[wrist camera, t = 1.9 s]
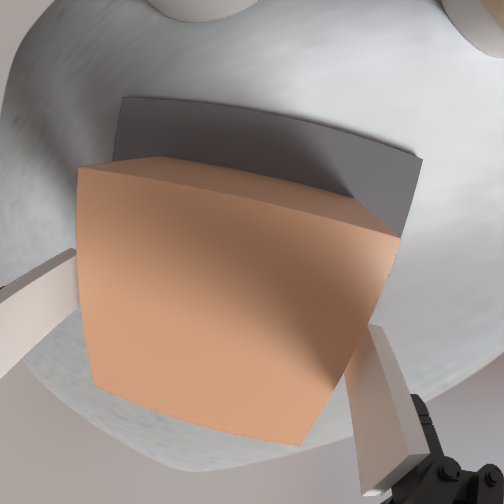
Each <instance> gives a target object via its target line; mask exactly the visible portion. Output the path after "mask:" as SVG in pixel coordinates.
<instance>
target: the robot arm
mask: <svg viewBox="0 0 504 504" xmlns="http://www.w3.org/2000/svg"><path fill="white" fill-rule="evenodd" d="M79 306H80V296H79V285H78V272H77V252H76V249H73V248H70V249H68V250H66V251H64V252H62V253H60V254H59V255H57V256H55V257H53V258H52V259H50V260H48V261H46V262H45V263H43V264H41V265H39V266H38V267H36V268H34V269H33V270H31V271H29V272H28V273H26V274H24V275H23V276H21V277H19V278H18V279H16V280H14V281H13V282H11V283H10V284H8V285H6V286H3V287H1V288H0V379H1V378H2V377H3V376H4V375H5V374H6V373H7V372H8V371H9V370H10V369H11V368H12V367H13V366H14V365H15V364H16V363H17V362H18V361H19V360H20V359H21V358H22V357H23V356H24V355H25V354H26V353H27V352H28V351H30V350H31V349H32V348H33V347H34V346H35V345H36V344H37V343H38V342H39V341H40V340H41V339H43V338H44V337H45V336H46V335H47V334H48V333H49V332H50V331H51V330H52V329H54V328H55V327H56V326H57V325H58V324H59V323H60V322H61V321H63V320H64V319H65V318H66V317H67V316H68V315H70V314H71V313H72V312H73V311H74V310H75V309H76V308H78V307H79ZM344 376H345V381H346V387H347V393H348V398H349V404H350V411H351V417H352V423H353V430H354V437H355V444H356V452H357V459H358V468H359V476H360V485H361V496H373V495H382V494H383V493H385V492H386V491H387V490H389V489H390V488H391V489H392V496H391V497H389V498H388V499H386V500H385V501H384V502H382V503H381V504H503V500H504V477H503V474H502V472H501V470H500V469H499V468H498V467H497V466H495V465H493V464H486V465H484V466H483V467H482V468H481V469H480V470H478V471H477V472H472V471H465V470H461V467H460V465H459V464H458V462H456V461H455V460H454V459H453V458H450V457H447V456H444V454H443V451H442V448H441V445H440V442H439V439H438V436H437V434H436V431H435V428H434V425H432V420H431V418H430V417H429V413H428V410H427V407H426V405H425V403H424V402H423V401H422V399H421V398H420V397H419V396H418V395H417V394H410V393H409V390H408V388H407V385H406V383H405V380H404V377H403V375H402V372H401V370H400V368H399V365H398V363H397V360H396V358H395V355H394V353H393V351H392V348H391V346H390V344H389V341H388V339H387V337H386V335H385V332H384V330H383V328H382V327H381V326H376V325H371V324H367V326H366V328H365V330H364V333H363V335H362V337H361V339H360V341H359V343H358V345H357V347H356V349H355V351H354V353H353V355H352V357H351V359H350V361H349V363H348V365H347V367H346V369H345V371H344Z"/></svg>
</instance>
